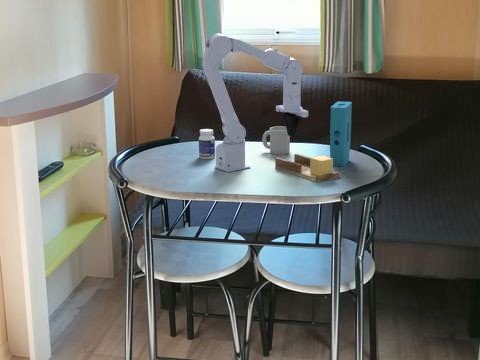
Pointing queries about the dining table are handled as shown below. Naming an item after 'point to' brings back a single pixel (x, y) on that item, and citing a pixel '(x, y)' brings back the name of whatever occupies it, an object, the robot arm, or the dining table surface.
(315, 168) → the block
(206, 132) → the pill bottle
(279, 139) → the cup
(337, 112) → the block
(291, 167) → the chute
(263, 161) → the dining table surface
